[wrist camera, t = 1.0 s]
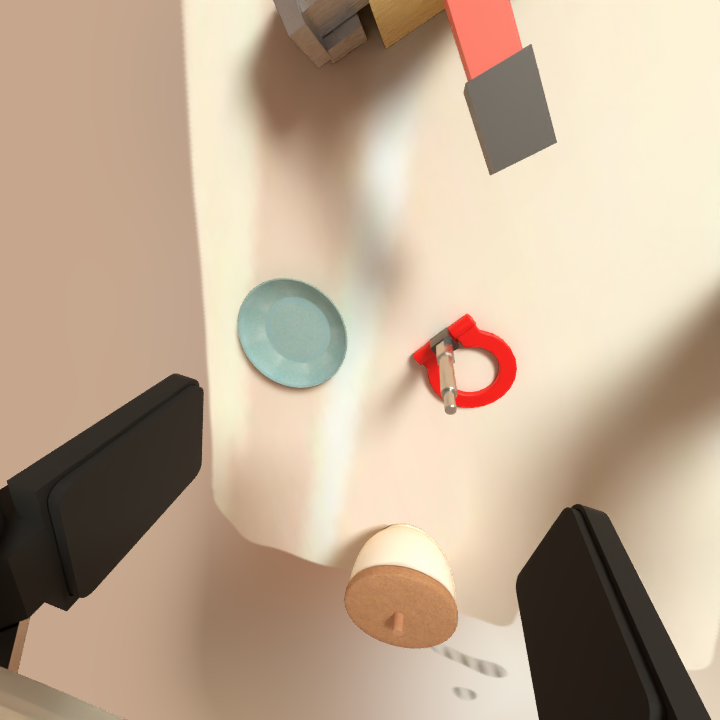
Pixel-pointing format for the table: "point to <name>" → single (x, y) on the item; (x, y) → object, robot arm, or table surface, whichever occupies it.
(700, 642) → the table surface
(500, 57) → the lever
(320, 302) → the saucer
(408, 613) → the lidded bowl
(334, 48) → the valve body
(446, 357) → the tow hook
